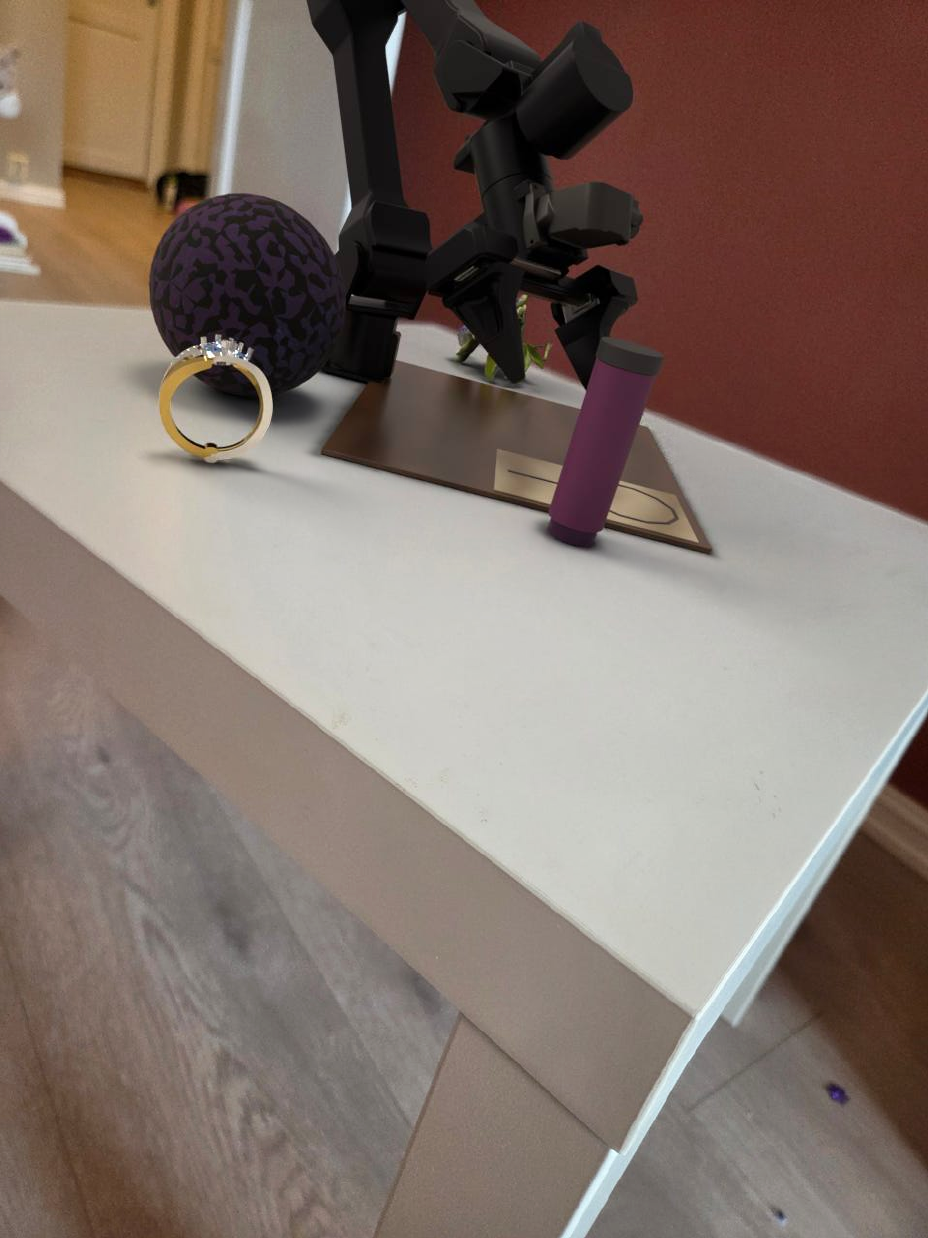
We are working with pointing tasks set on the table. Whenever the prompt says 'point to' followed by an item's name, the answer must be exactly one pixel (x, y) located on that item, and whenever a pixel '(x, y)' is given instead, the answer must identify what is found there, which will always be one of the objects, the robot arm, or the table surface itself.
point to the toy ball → (249, 289)
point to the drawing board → (501, 449)
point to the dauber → (602, 439)
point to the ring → (213, 354)
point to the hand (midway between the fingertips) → (559, 388)
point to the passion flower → (471, 343)
